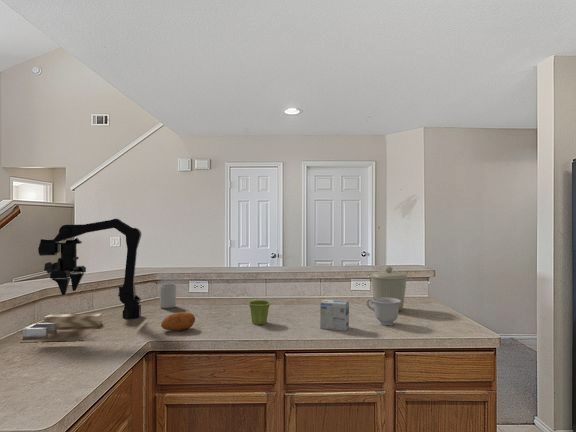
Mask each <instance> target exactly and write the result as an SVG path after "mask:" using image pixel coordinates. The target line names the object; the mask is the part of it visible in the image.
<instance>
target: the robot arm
mask: <svg viewBox="0 0 576 432" xmlns="http://www.w3.org/2000/svg"><path fill="white" fill-rule="evenodd" d="M110 229H115V230H117V231H118V232H120V233H121V234H123V235H124V236H125V244H126V259H125V270H124V282H123V284H119V286H118V295H117V297H119V302H121V303H122V304H123V305H124V307H123V309H122V319H126V320H132V319H139V318H141V316H142V305H141V304H140V303H141V300H142V299H141V298H140V297H139V296H138V295H137V294H136V292H137V291H136V286H135V285H136V284H135V276H136V264H137V255H138V253H137V252H138V247H139V244H140V241H141V238H142V231H141V230H140V228H138V227H132V226H130V225H129V224H127V223H125V222H123V221H122V220H121V219H119V218H113V219H109V220H102V221H95V222H91V223H90V222H89V223H84V224H83V223H82V224H63V225H61V226H60V227H59V230H58V233H57V235H56V236H55V237H54V239H53V238H51V239H49V238H48V239H47V238H41V239H40V240H39V241H40V242H39V244H38V247H37V249H38V251H37V252H38V255H39V256H40V257H43V256H44V257H45V256H46V257H47V256H49V257H51V256H57V255H58V254H59V253H60V257H58V258H57V261H56V262H51V261H49V262H46V263H44V268H43V270H44V271H46V272H47V274H49V279H51V280H52V281H54V282H55V283H57V286H58V288H59V290H60V294H61V295H62V296H65V295H66V293H67V290H68V288H69V284H70V283H71V289H72V291H73V292H74V291H76V290H77V288H78V287H79V284H80V283H81V280H82V279H83V276H84V275H85V273H86V272H87V267H86V266H84V265H78V264H77V261H78V260H79V258H80V257H79V256H77V253H78V252H77V250H78V248H77V245H80V244H83V242H82V240H80V239H79V238H78V237H79V236H82V235H84V234H88V233H94V232H99V231H104V230H105V231H106V230H110ZM73 238H74V239H73ZM70 281H71V282H70Z"/></svg>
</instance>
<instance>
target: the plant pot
mask: <svg viewBox="0 0 576 432" xmlns="http://www.w3.org/2000/svg"><path fill="white" fill-rule="evenodd" d="M248 305H249V308H250V317H251V323H252V324H253V325H256V326H259V325H265V324H267V322H268V315H269V308H270V305H271V301H269V300H262V299H261V300H259V299H258V300H257V299H256V300H255V299H254V300H250V301H249V302H248Z"/></svg>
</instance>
